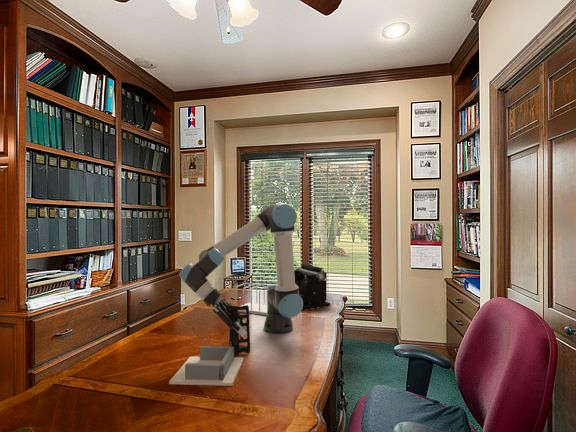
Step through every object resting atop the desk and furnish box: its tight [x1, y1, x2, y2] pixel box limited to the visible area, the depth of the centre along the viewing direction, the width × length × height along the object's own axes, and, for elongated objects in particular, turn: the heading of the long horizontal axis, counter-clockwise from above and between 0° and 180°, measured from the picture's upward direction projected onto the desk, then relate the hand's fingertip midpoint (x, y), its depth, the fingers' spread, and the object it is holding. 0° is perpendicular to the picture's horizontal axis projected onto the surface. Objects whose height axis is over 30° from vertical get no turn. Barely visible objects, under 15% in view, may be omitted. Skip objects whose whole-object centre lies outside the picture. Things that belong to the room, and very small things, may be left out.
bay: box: [168, 345, 245, 387], centre depth 119 cm, size 22×20×6 cm
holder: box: [228, 302, 251, 354], centre depth 137 cm, size 11×8×20 cm
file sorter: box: [234, 282, 270, 316], centre depth 200 cm, size 25×17×16 cm
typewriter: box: [294, 263, 332, 311], centre depth 216 cm, size 31×27×25 cm
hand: (246, 332), depth 136 cm, fingers closed on holder, 5 cm apart
